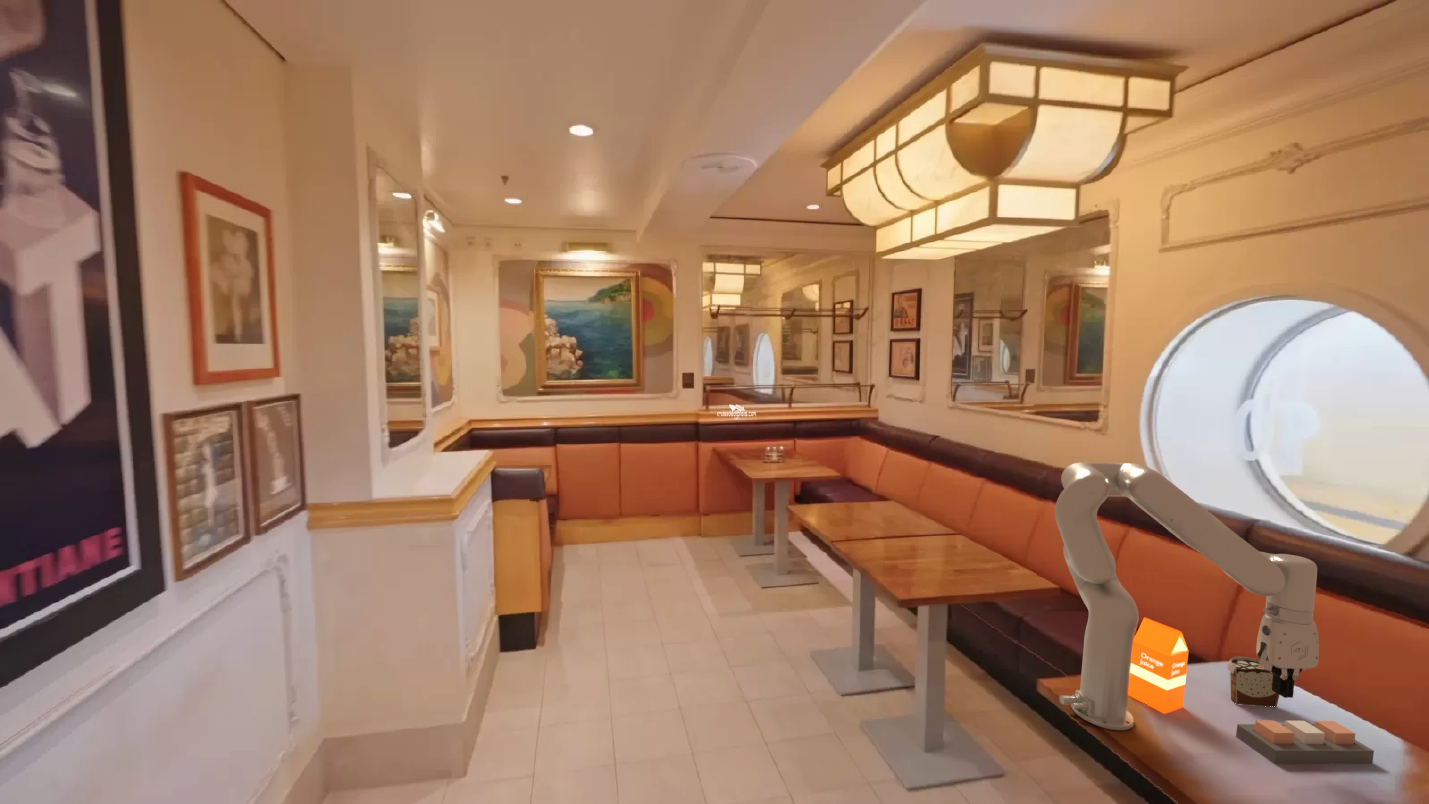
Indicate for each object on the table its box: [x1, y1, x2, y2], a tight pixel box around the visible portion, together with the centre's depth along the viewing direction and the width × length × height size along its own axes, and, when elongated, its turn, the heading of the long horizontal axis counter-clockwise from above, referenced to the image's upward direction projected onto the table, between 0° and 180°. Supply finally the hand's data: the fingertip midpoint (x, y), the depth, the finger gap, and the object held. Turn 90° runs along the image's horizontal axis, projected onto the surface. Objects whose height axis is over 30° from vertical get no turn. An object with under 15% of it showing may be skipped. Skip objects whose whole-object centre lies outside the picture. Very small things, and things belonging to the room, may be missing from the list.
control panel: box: [1235, 723, 1375, 765], centre depth 133 cm, size 22×9×3 cm, turn 92°
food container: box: [1226, 656, 1280, 708], centre depth 152 cm, size 12×6×10 cm, turn 84°
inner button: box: [1254, 719, 1294, 744], centre depth 132 cm, size 4×4×4 cm
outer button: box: [1314, 720, 1356, 745], centre depth 133 cm, size 4×4×4 cm
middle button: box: [1284, 720, 1325, 745], centre depth 132 cm, size 4×4×4 cm
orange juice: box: [1128, 616, 1189, 715], centre depth 149 cm, size 8×9×20 cm
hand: (1282, 694), depth 131 cm, fingers closed
